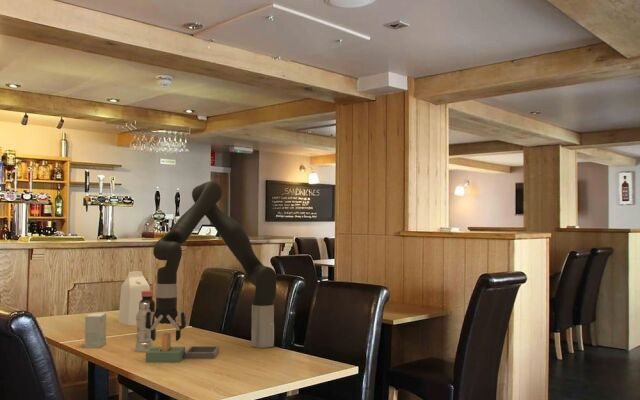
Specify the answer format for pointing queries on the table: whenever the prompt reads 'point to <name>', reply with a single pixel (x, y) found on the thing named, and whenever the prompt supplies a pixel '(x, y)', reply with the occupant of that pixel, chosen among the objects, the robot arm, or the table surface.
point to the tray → (190, 355)
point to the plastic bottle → (143, 329)
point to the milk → (131, 297)
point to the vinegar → (148, 298)
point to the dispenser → (165, 355)
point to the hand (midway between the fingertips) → (165, 340)
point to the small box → (95, 330)
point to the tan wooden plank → (166, 342)
